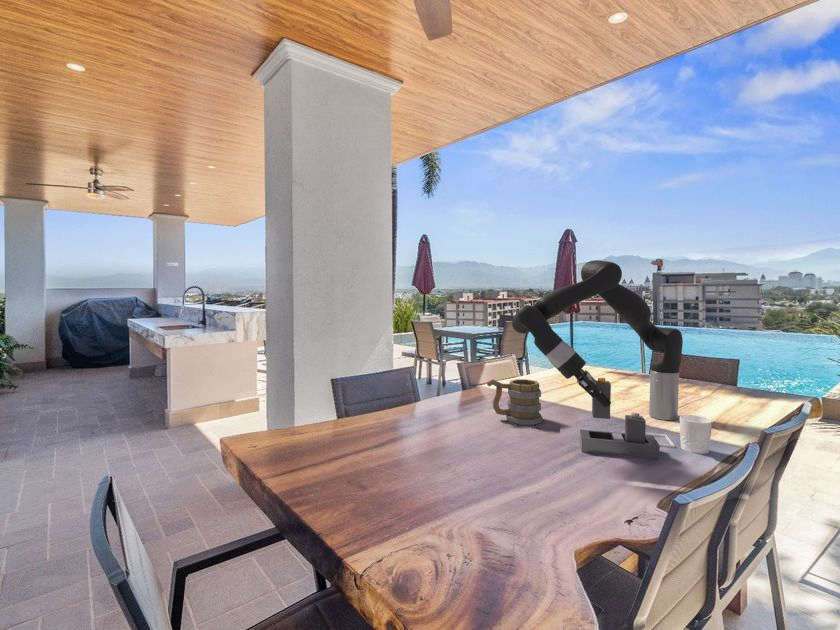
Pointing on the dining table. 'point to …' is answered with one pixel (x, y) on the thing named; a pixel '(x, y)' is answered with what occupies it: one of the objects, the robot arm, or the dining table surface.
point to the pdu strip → (618, 445)
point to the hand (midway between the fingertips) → (608, 402)
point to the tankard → (519, 401)
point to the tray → (665, 437)
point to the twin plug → (635, 428)
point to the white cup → (695, 433)
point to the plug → (597, 407)
